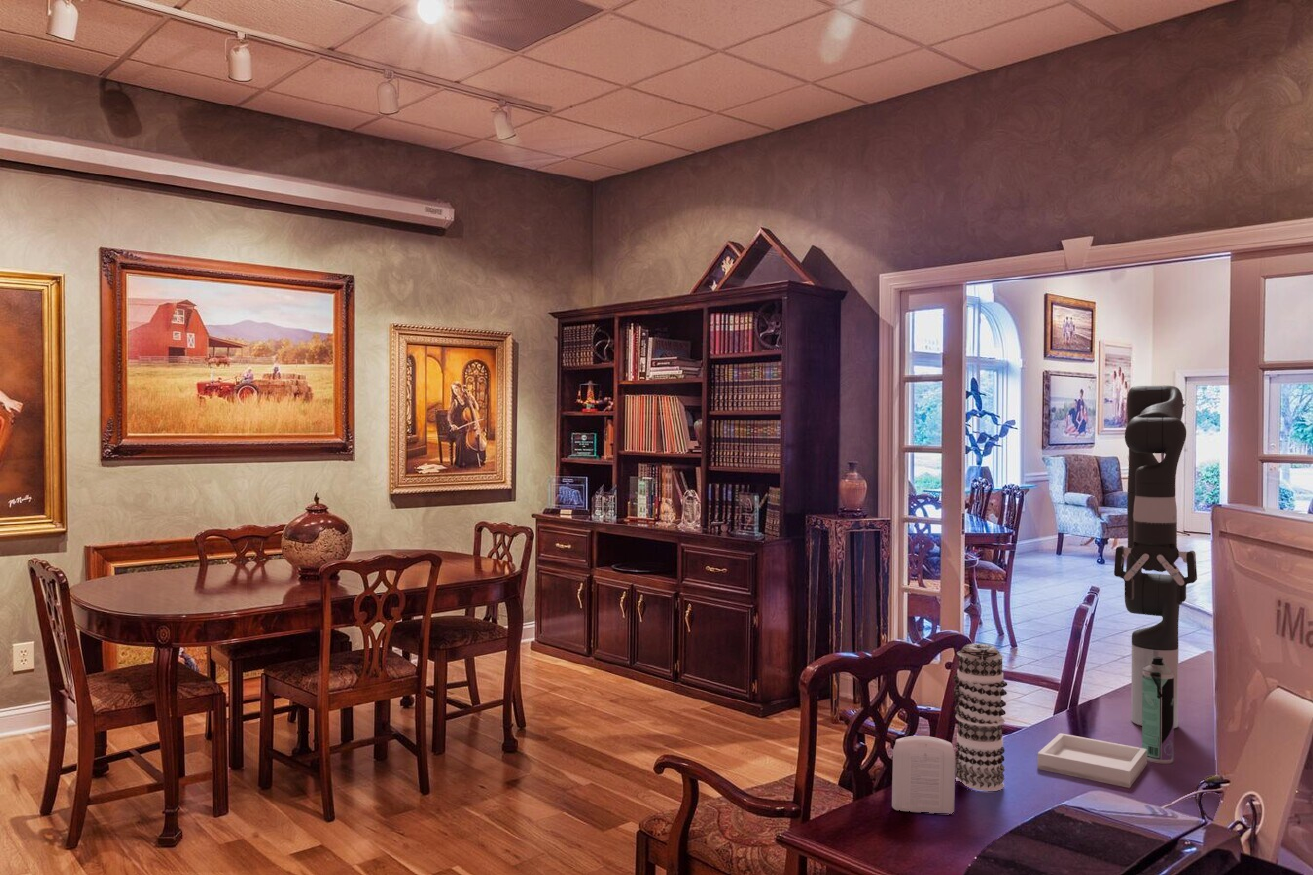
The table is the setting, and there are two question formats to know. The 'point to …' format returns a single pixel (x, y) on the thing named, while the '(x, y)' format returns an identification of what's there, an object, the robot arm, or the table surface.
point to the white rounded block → (923, 775)
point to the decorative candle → (980, 717)
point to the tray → (1093, 759)
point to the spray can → (1158, 711)
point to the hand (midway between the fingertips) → (1154, 601)
